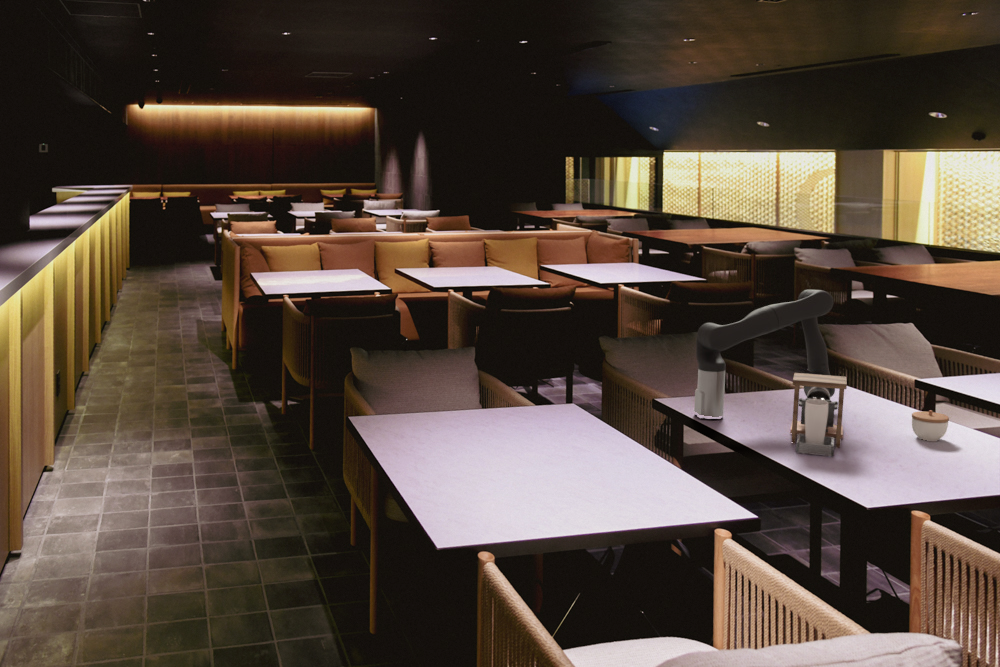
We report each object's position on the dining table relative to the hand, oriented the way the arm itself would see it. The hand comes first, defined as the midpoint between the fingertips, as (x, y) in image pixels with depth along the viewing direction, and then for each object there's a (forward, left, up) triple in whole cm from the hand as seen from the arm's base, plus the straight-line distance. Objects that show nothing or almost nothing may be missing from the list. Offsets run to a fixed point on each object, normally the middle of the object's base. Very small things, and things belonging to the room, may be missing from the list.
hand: (817, 410), depth 282 cm
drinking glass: (-9, -16, -8) cm, 20 cm away
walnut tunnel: (-5, -8, -8) cm, 13 cm away
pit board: (+1, +2, -8) cm, 8 cm away
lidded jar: (+33, -10, -8) cm, 36 cm away
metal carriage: (-6, -11, -8) cm, 15 cm away
